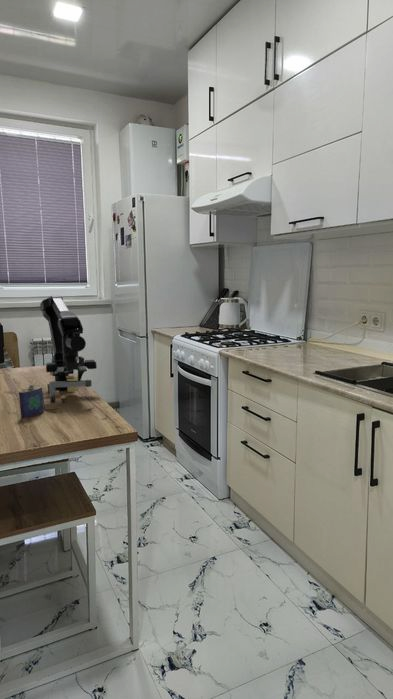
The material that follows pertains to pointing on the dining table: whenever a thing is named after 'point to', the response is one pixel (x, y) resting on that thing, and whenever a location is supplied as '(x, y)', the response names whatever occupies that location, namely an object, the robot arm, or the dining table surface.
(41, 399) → the flask
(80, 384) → the lever
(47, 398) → the plane body
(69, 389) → the light wooden cube
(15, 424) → the dining table surface
